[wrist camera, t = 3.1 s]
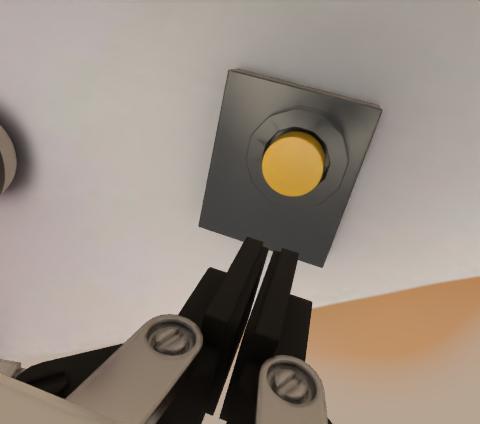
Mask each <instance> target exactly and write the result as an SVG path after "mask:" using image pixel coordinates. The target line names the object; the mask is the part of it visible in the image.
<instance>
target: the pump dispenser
mask: <svg viewBox="0 0 480 424" xmlns="http://www.w3.org/2000/svg"><path fill="white" fill-rule="evenodd" d="M16 165H17V159H16V153H15V149H14V146H13V143H12V141H11V139H10V137H9V136H8V134H7V133H6V131H5V130H4V129H3V128H2V126H1V125H0V195H1V194H2V193H3V192H4V191H5V190H6V189H7V188H8V186H9V185H10V183H11V182H12V180H13V178H14V175H15V172H16Z"/></svg>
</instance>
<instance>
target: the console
mask: <svg viewBox="0 0 480 424" xmlns="http://www.w3.org/2000/svg"><path fill="white" fill-rule="evenodd" d="M381 113H382V109H381V107H380V106H379V105H376V104H372V103H368V102H365V101H361V100H357V99H353V98H349V97H345V96H341V95H338V94H334V93H330V92H326V91H322V90H318V89H315V88H311V87H307V86H303V85H299V84H295V83H291V82H288V81H284V80H280V79H276V78H272V77H268V76H265V75H261V74H257V73H253V72H249V71H245V70H241V69H231V70H228V75H227V80H226V86H225V91H224V96H223V101H222V106H221V112H220V117H219V122H218V127H217V132H216V138H215V143H214V148H213V153H212V158H211V163H210V169H209V174H208V179H207V184H206V189H205V195H204V200H203V205H202V210H201V215H200V221H199V227H201V228H204V229H207V230H210V231H213V232H216V233H219V234H222V235H225V236H228V237H231V238H234V239H237V240H240V241H243V242H244V241H245V239H246V237H247V236H248V237H251V238H254V239H257V240H260V241H263V242H264V243H263V246H264V247H267V248H269V250H270V251H273V252H274V250H276V251H279V252H281V250H282V248H285V249H288V250H291V251H294V252H297V253H299V256H298V260H300V261H303V262H306V263H309V264H312V265H315V266H318V267H321V268H323V266H324V263H325V261H326V258H327V255H328V253H329V250H330V247H331V245H332V242H333V239H334V237H335V234H336V232H337V229H338V226H339V224H340V221H341V218H342V216H343V213H344V210H345V208H346V205H347V203H348V200H349V197H350V195H351V192H352V189H353V187H354V184H355V181H356V179H357V176H358V174H359V171H360V168H361V166H362V163H363V160H364V158H365V155H366V152H367V150H368V147H369V145H370V142H371V139H372V137H373V134H374V131H375V129H376V126H377V123H378V121H379V118H380V116H381ZM292 131H300V132H305V133H307V134H309V135H311V136H313V137H314V138H315V139H316V140H317V141H318V142H319V143H320V144H321V146H322V148H323V150H324V154H325V166H324V170H323V174H322V177H321V180H320V182H319V183H318V185H317V186H316V187H315V188H314V189H313V190H311V191H310V192H308V193H307V194H304V195H301V196H286V195H282V194H280V193H278V192H276V191H275V190H273V189H272V188H271V187H270V186H269V185H268V183H267V182H266V180H265V178H264V176H263V172H262V160H263V156H264V154H265V152H266V150H267V149H268V148H269V146H270V145H271V144H272V143H273V142H274V141H275V140H276V139H277V138H278V137H279V136H281V135H283V134H285V133H288V132H292Z"/></svg>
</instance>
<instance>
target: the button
mask: <svg viewBox="0 0 480 424" xmlns="http://www.w3.org/2000/svg"><path fill="white" fill-rule="evenodd" d="M324 166H325V154H324V150H323V148H322V146H321V144H320V143H319V142H318V141H317V140H316V139H315V138H314V137H313V136H311V135H309V134H307V133H305V132H300V131H292V132H288V133H285V134H283V135H281V136H279V137H278V138H277V139H276V140H275V141H274V142H273V143H272V144H271V145H270V146H269V148H268V149H267V150H266V152H265V154H264V156H263V160H262V172H263V176H264V178H265V180H266V182H267V183H268V185H269V186H270V187H271V188H272V189H273V190H275V191H276V192H278V193H280V194H282V195H286V196H301V195H304V194H307V193H308V192H310V191H311V190H313V189H314V188H315V187H316V186H317V185H318V183H319V182H320V180H321V177H322V174H323V170H324Z"/></svg>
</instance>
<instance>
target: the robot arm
mask: <svg viewBox="0 0 480 424" xmlns="http://www.w3.org/2000/svg"><path fill="white" fill-rule="evenodd" d="M263 243H264V242H263V241H260V240H257V239H254V238H251V237H248V236H247V237H246V239H245V241H244V243H243V244H242V246H241V248H240V250H239V252H238V254H237V255H236V257H235V259H234V261H233V263H232V264H231V266H230V268H229V270H228V272H227V273H226V272H223V271H220V270H217V269H214V268H211V267H210V268H209V269H208V270H207V271H206V273H205V274H204V276H203V277H202V279H201V280H200V282H199V284H198V285H197V287H196V288H195V290H194V291H193V293H192V294H191V296H190V297H189V299H188V300H187V302H186V304H185V305H184V307H183V308H182V310H181V311H180V313H179V314H178V315H172V314H168V315H160V316H157V317H154V318H152V319H151V320H149V321H148V322H146V323H145V324H144V325H143V326H142V327H141V328H140V329H139V330H138V331H137V332H135V333H134V334H133V335H132V336H131V337H130V338H129V339H128V340H127V341H126V342H125V343H123V344H119V345H115V346H110V347H106V348H102V349H98V350H93V351H89V352H85V353H80V354H76V355H72V356H68V357H63V358H59V359H55V360H51V361H46V362H42V363H39V364H37V365H34V366H31V367H29V368H28V369H23V368H21V363H20V362H14V361H8V360H2V359H0V424H201V423H202V421H203V418H204V415H205V413H207V414H210V415H213V414H214V412H215V409H216V406H217V403H218V401H219V398H220V395H221V392H222V390H223V387H224V384H225V382H226V379H227V376H228V373H229V371H230V368H231V365H232V362H233V360H234V357H235V354H236V352H237V349H238V346H239V343H240V340H241V338H242V335H243V333H244V336H243V339H242V342H241V346H240V349H239V352H238V356H237V359H236V363H235V366H234V369H233V373H232V376H231V380H230V383H229V387H228V390H227V393H226V397H225V400H224V404H223V408H222V410H221V414H220V417H219V418H220V419H222V420H225V421H227V423H226V424H332V423H331V421H330V420H329V419H328V418H327V410H326V401H325V393H324V387H323V384H322V380H321V379H320V377H319V376H318V374H317V372H316V371H315V370H314V369H313V368H312V367H311V366H310V365H308V364H307V363H305V358H306V350H307V342H308V334H309V325H310V318H311V310H312V302H311V301H308V300H305V299H303V298H300V297H297V296H294V295H291V294H290V291H291V287H292V283H293V278H294V274H295V269H296V265H297V261H298V256H299V253H297V252H294V251H291V250H288V249H285V248H282V250H281V252H279V251H276V250H274V252H273V255H272V257H271V260H270V263H269V265H268V268H267V271H266V274H265V276H264V279H263V282H262V285H261V287H260V290H259V293H258V296H257V298H256V301H255V304H254V307H253V309H252V312H251V315H250V311H251V308H252V305H253V301H254V298H255V294H256V291H257V288H258V284H259V281H260V277H261V274H262V271H263V267H264V264H265V260H266V257H267V253H268V250H269V248H267V247H264V246H263ZM249 315H250V318H249ZM248 318H249V320H248ZM247 321H248V323H247ZM246 324H247V326H246ZM245 327H246V329H245ZM244 330H245V332H244Z"/></svg>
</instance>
